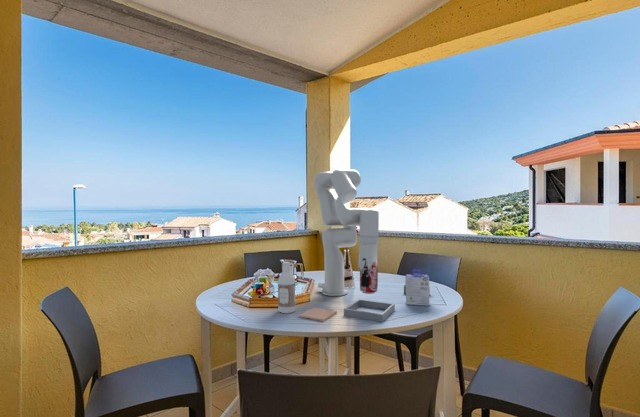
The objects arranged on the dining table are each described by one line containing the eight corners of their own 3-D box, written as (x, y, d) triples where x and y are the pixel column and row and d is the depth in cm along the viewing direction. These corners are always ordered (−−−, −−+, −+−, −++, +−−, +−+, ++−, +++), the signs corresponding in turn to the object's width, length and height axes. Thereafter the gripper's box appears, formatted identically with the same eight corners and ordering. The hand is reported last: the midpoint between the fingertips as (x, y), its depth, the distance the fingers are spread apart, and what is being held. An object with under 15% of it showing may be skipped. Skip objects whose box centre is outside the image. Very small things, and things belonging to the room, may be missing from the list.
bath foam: (275, 312, 138) (274, 263, 138) (282, 307, 144) (281, 260, 144) (291, 314, 136) (290, 264, 136) (297, 309, 142) (297, 261, 142)
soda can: (379, 290, 139) (379, 261, 139) (374, 295, 133) (375, 264, 132) (362, 289, 142) (363, 260, 142) (357, 293, 136) (357, 263, 135)
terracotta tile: (298, 317, 132) (298, 315, 132) (312, 309, 142) (312, 307, 142) (323, 321, 127) (323, 319, 127) (336, 313, 136) (336, 311, 136)
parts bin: (344, 315, 134) (343, 309, 134) (359, 305, 147) (359, 299, 147) (382, 321, 126) (382, 314, 126) (394, 309, 140) (394, 303, 140)
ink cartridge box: (428, 302, 150) (428, 269, 150) (430, 306, 145) (429, 271, 145) (405, 301, 152) (405, 268, 152) (406, 304, 147) (405, 271, 147)
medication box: (403, 294, 165) (403, 285, 165) (404, 292, 168) (404, 284, 168) (429, 296, 161) (429, 288, 160) (430, 295, 163) (430, 286, 163)
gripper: (367, 237, 146) (367, 278, 147) (351, 242, 131) (351, 288, 131) (384, 238, 142) (384, 280, 143) (370, 243, 127) (370, 290, 128)
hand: (368, 283), depth 137 cm, fingers closed on soda can, 7 cm apart
